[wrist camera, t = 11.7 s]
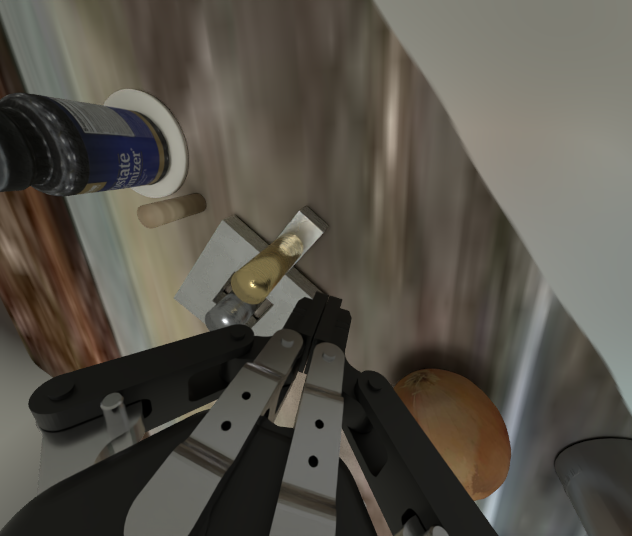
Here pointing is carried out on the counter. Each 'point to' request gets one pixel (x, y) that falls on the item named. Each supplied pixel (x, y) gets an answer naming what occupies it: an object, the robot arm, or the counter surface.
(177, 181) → the coaster
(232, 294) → the post
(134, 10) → the counter surface
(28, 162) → the pill bottle
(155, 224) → the dowel
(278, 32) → the counter surface
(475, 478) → the onion
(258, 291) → the grey plate with post
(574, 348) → the counter surface
